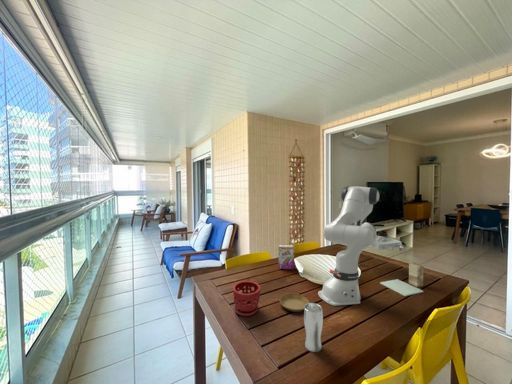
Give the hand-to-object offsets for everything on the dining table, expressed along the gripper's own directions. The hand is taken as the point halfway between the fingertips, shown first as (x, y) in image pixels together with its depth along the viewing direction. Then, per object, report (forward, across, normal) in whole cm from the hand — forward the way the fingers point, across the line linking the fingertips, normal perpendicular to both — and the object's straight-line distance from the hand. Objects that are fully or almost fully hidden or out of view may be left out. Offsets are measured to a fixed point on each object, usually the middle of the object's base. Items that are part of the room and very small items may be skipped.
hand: (397, 248), depth 141 cm
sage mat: (+12, -12, +19) cm, 25 cm away
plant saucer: (+9, -80, +19) cm, 83 cm away
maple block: (+12, 0, +19) cm, 22 cm away
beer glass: (+36, -86, +18) cm, 95 cm away
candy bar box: (-36, -63, +19) cm, 75 cm away
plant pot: (+6, -104, +18) cm, 106 cm away
